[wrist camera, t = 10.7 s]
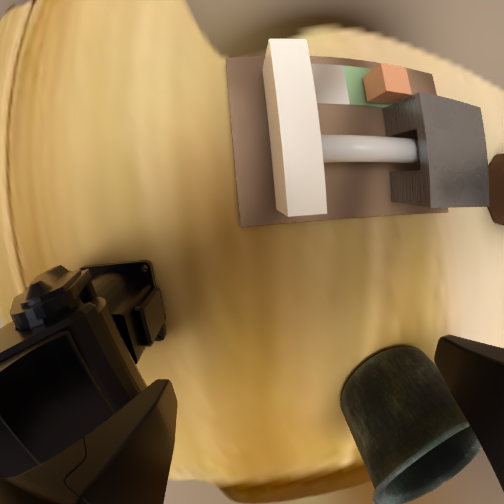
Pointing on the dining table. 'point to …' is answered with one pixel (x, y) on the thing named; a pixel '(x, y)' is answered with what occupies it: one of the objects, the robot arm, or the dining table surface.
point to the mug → (406, 425)
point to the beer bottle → (496, 189)
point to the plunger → (311, 133)
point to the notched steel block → (440, 152)
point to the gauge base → (331, 123)
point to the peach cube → (386, 84)
